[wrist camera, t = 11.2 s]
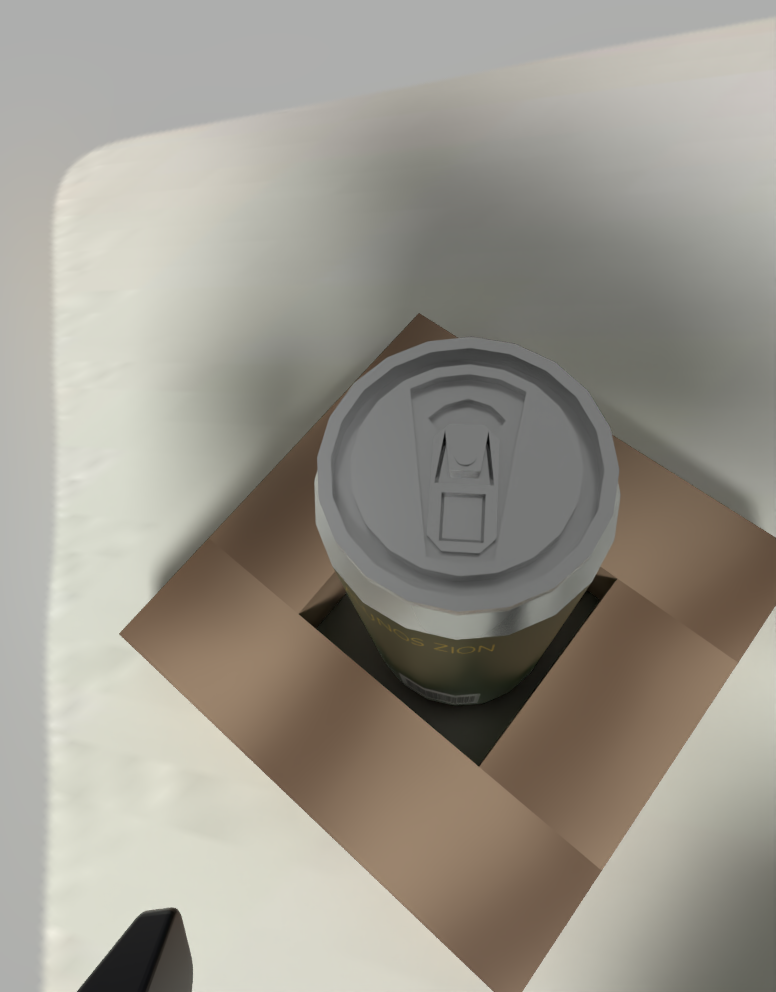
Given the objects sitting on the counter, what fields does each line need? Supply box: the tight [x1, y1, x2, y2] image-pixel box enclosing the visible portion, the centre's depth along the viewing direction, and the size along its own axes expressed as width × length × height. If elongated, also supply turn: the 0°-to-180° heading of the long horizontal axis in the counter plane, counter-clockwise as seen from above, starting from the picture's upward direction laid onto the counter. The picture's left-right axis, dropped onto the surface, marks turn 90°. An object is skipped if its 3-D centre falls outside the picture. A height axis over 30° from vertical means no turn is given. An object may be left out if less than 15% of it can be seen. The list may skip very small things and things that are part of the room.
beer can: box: [314, 337, 621, 706], centre depth 17 cm, size 5×5×12 cm
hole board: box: [119, 313, 776, 992], centre depth 22 cm, size 14×14×2 cm
